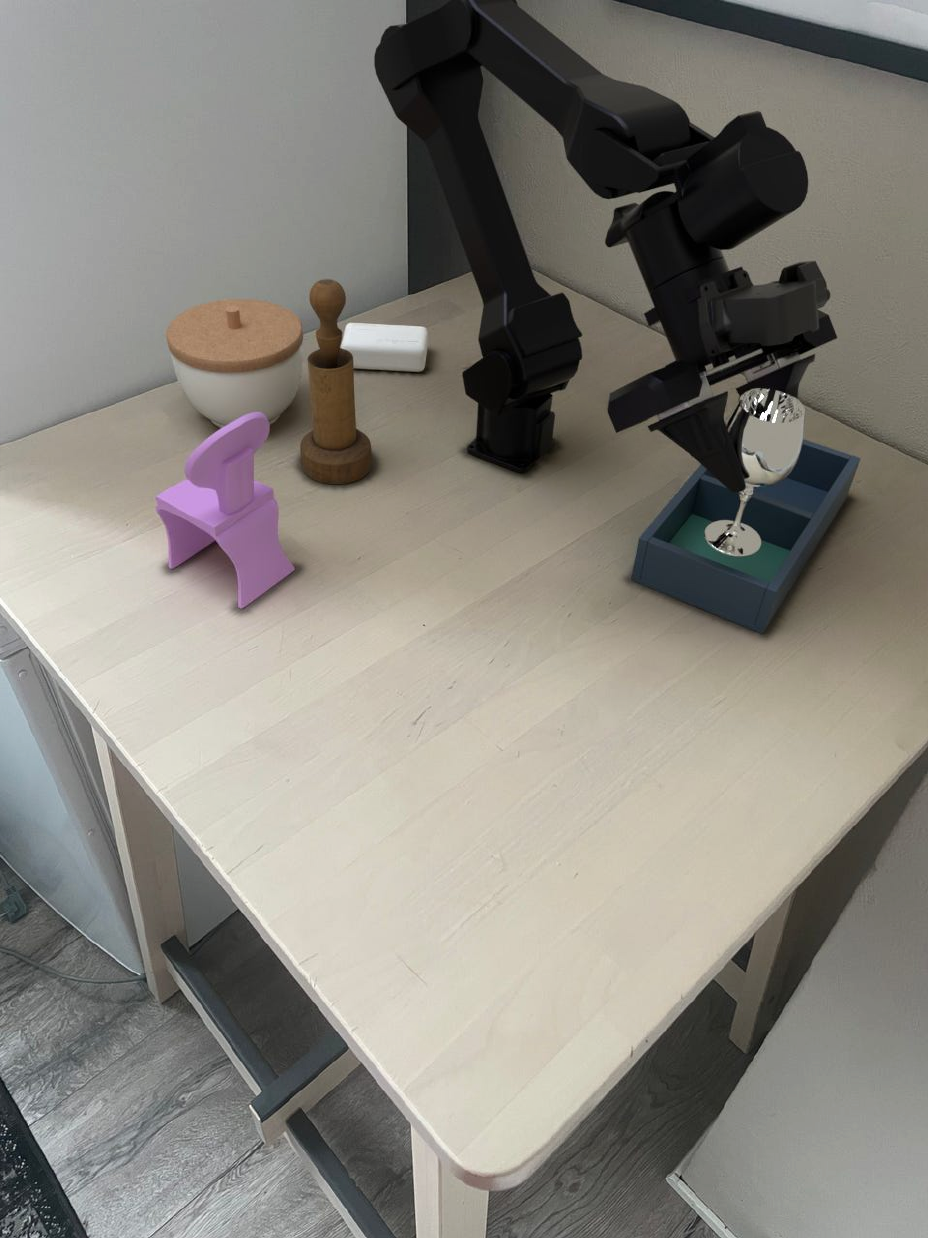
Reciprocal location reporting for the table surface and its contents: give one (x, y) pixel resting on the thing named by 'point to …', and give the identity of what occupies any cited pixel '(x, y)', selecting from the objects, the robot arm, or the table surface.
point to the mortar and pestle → (332, 399)
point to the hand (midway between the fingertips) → (766, 478)
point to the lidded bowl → (237, 358)
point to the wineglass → (758, 458)
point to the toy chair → (228, 508)
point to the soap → (386, 346)
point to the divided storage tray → (776, 513)
